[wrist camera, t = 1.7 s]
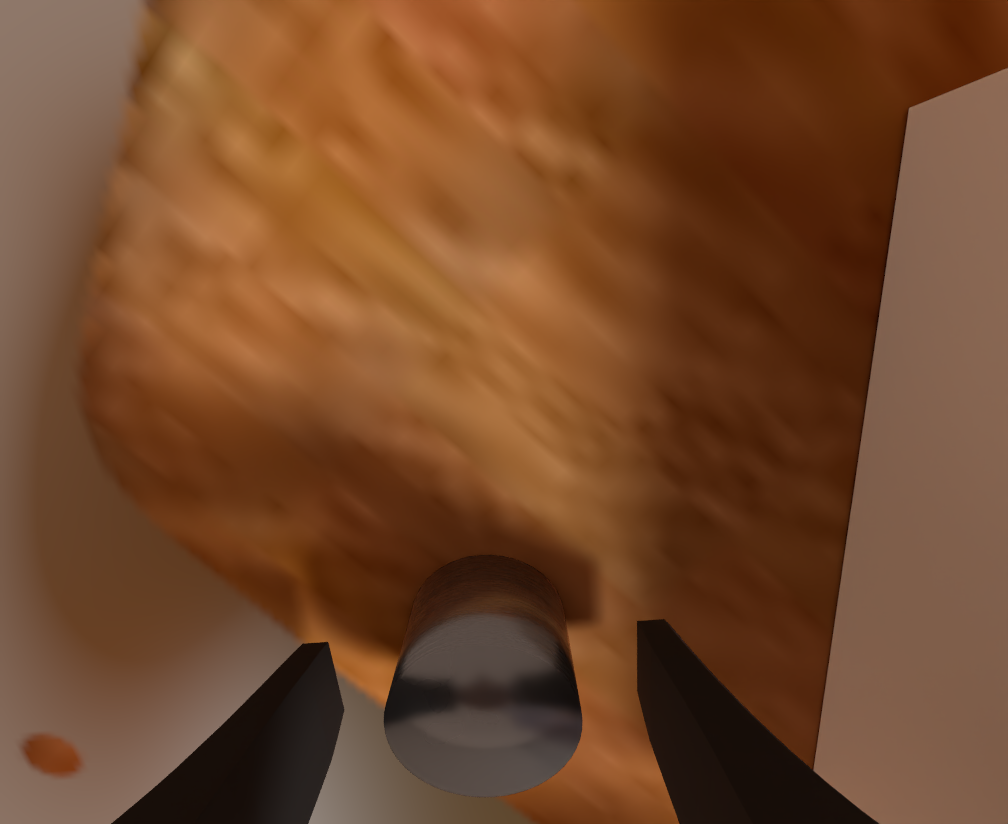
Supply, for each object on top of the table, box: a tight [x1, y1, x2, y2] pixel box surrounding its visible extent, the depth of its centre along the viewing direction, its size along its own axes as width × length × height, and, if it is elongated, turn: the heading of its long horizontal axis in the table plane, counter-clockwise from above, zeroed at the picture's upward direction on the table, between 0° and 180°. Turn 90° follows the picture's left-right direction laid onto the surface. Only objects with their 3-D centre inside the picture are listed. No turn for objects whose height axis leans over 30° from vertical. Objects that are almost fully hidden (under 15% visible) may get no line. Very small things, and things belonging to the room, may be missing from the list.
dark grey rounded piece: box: [384, 555, 582, 797], centre depth 11 cm, size 4×4×3 cm
